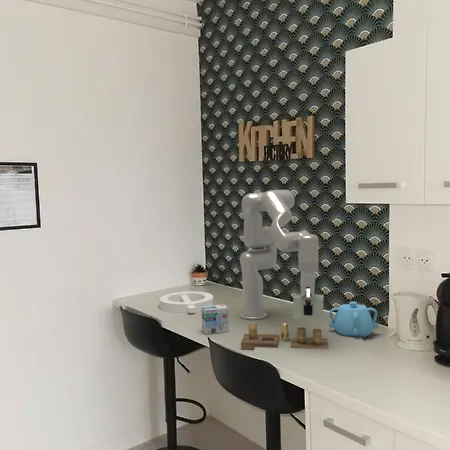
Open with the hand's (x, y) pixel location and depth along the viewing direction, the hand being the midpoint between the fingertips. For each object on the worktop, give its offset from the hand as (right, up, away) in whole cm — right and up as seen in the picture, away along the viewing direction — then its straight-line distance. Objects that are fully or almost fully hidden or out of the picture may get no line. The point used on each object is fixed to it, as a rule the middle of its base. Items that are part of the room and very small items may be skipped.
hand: (308, 311), depth 189 cm
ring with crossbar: (-52, -9, +68) cm, 86 cm away
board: (+1, -13, +1) cm, 13 cm away
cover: (0, -2, 0) cm, 2 cm away
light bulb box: (-36, -13, +23) cm, 45 cm away
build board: (-18, -14, +4) cm, 23 cm away
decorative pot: (+21, -12, +13) cm, 28 cm away
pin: (-8, -13, +5) cm, 16 cm away
